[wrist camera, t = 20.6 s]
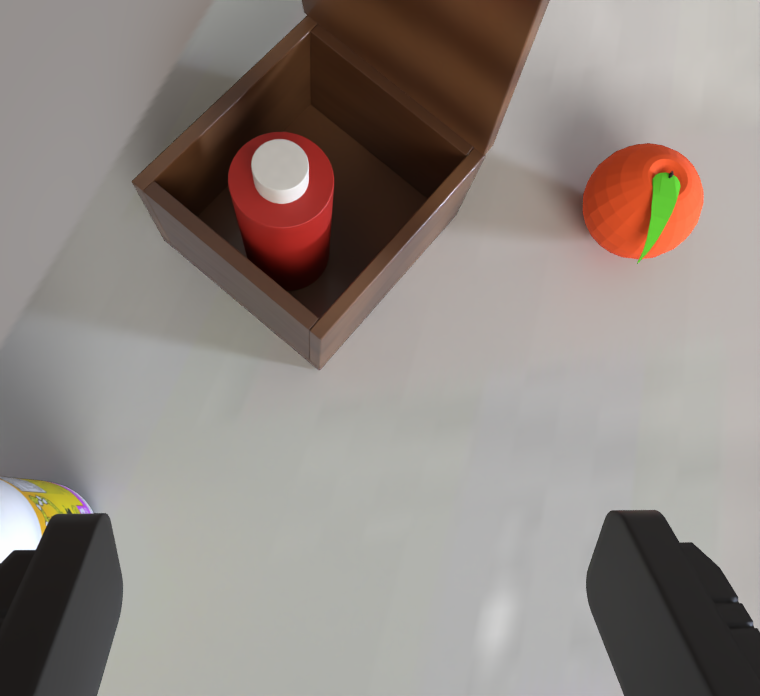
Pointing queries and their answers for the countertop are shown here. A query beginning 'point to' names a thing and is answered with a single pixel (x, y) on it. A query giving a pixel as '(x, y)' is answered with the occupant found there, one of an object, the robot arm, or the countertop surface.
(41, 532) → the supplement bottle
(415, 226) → the chest
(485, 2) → the lid
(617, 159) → the clementine
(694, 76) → the countertop surface
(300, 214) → the sauce bottle
